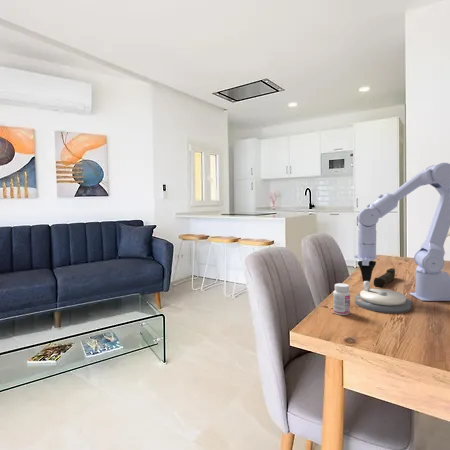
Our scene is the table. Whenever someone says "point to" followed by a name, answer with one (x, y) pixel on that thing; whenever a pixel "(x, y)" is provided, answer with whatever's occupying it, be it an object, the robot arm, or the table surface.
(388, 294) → the dial
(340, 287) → the pill bottle
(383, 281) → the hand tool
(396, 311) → the dial base
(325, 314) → the table surface
